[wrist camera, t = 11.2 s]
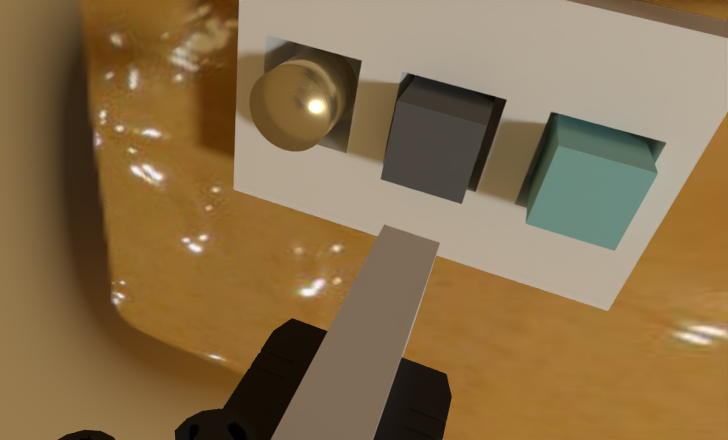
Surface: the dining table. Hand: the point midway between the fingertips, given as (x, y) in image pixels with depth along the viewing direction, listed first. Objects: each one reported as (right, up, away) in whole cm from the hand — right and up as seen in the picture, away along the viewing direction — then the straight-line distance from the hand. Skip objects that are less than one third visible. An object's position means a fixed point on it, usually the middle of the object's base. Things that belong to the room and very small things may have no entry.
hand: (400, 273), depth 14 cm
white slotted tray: (+4, +8, +16) cm, 18 cm away
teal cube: (+10, +5, +12) cm, 16 cm away
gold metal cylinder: (-3, +9, +14) cm, 17 cm away
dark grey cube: (+3, +7, +13) cm, 15 cm away
